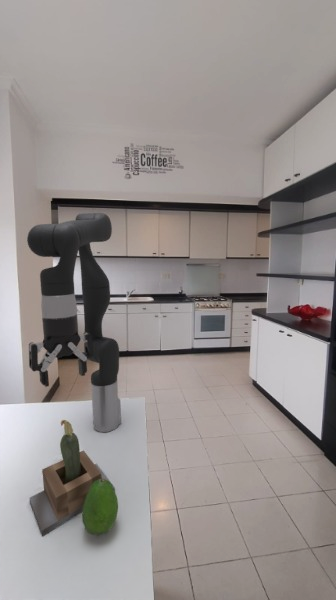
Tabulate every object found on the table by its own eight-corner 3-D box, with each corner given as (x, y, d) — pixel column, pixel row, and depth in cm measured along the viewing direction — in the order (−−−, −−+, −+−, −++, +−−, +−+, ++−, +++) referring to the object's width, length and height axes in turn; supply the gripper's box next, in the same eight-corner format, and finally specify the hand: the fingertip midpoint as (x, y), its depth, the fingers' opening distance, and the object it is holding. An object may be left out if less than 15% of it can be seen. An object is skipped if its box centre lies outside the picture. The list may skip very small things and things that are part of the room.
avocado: (120, 539, 60) (118, 490, 58) (83, 550, 57) (79, 500, 56) (116, 507, 67) (114, 463, 65) (83, 516, 65) (80, 471, 63)
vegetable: (85, 487, 72) (80, 416, 69) (75, 501, 68) (69, 426, 64) (71, 483, 73) (66, 413, 70) (60, 496, 69) (54, 423, 66)
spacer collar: (96, 468, 80) (95, 444, 79) (115, 492, 72) (113, 466, 71) (29, 503, 69) (27, 476, 68) (42, 536, 60) (39, 506, 59)
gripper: (83, 307, 70) (86, 367, 73) (21, 315, 61) (28, 383, 64) (95, 311, 65) (99, 376, 67) (30, 321, 56) (37, 395, 58)
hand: (64, 380), depth 66 cm, fingers open, 8 cm apart
